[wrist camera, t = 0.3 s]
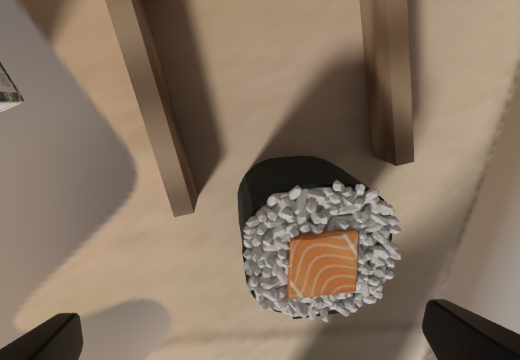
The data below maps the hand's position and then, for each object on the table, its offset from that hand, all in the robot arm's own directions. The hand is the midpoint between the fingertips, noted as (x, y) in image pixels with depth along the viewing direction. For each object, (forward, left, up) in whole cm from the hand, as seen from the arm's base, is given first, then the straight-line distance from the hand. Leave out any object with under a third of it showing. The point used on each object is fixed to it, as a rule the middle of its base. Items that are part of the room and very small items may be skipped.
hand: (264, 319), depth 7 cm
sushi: (-3, -3, -14) cm, 15 cm away
